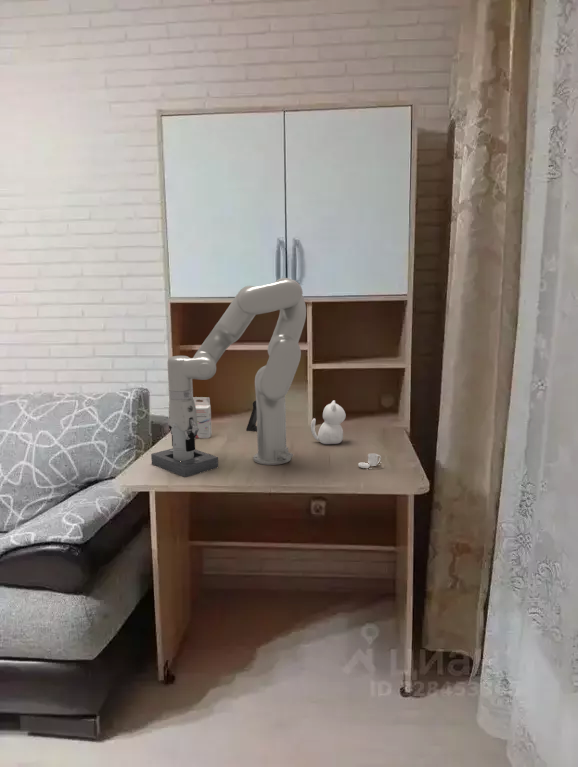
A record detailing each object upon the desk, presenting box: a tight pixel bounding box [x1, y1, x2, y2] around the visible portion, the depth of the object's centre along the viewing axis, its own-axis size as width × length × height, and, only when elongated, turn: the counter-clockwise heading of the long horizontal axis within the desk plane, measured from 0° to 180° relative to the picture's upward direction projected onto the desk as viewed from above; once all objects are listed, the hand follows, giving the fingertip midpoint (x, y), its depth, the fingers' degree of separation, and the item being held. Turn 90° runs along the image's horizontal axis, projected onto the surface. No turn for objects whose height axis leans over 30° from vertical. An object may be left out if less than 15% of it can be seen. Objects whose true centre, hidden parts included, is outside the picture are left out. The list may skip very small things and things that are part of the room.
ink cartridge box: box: [193, 396, 213, 439], centre depth 254 cm, size 9×5×15 cm, turn 84°
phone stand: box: [246, 399, 257, 432], centre depth 262 cm, size 9×6×12 cm, turn 74°
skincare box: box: [172, 424, 194, 461], centre depth 220 cm, size 6×4×12 cm
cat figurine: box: [310, 400, 347, 445], centre depth 242 cm, size 9×12×15 cm
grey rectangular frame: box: [150, 447, 219, 478], centre depth 221 cm, size 19×13×4 cm
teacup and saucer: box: [357, 453, 382, 469], centre depth 217 cm, size 9×8×4 cm
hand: (183, 447), depth 220 cm, fingers closed on skincare box, 7 cm apart
